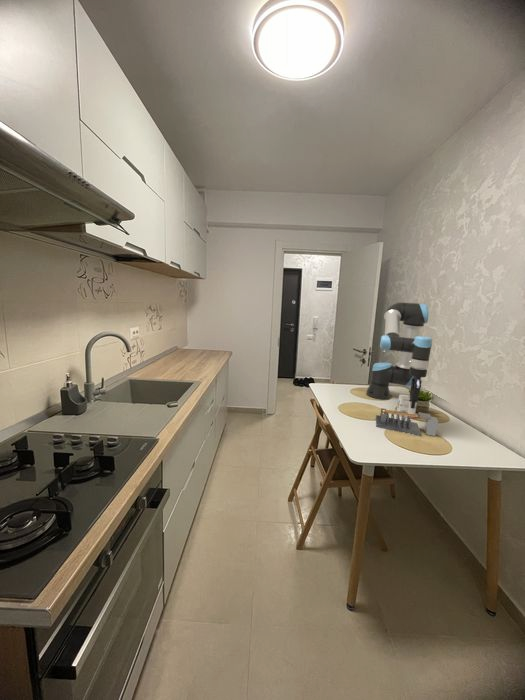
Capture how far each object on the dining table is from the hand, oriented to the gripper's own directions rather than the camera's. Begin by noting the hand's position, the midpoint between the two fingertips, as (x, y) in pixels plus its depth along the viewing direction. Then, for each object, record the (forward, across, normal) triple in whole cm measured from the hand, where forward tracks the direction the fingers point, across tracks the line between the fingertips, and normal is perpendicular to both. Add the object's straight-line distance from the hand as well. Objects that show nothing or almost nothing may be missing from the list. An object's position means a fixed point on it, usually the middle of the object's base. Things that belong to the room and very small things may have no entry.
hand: (411, 413), depth 141 cm
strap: (+2, 0, -5) cm, 5 cm away
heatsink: (+9, 0, -6) cm, 10 cm away
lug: (+8, 0, +8) cm, 11 cm away
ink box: (+9, -20, +1) cm, 22 cm away
